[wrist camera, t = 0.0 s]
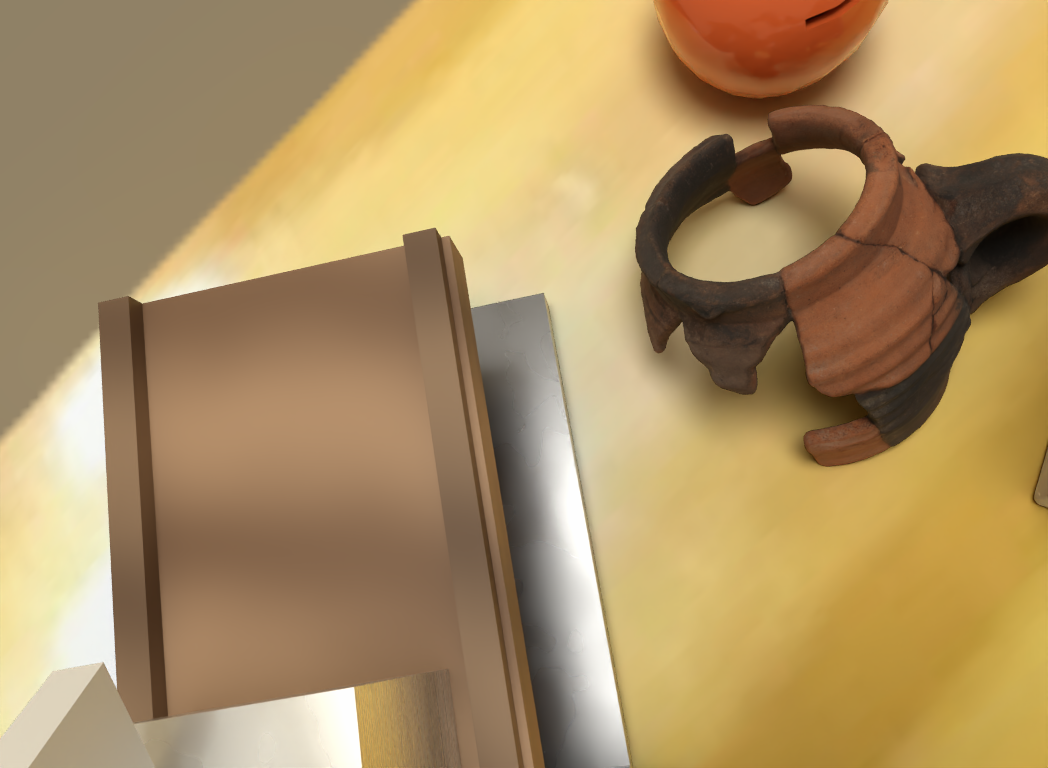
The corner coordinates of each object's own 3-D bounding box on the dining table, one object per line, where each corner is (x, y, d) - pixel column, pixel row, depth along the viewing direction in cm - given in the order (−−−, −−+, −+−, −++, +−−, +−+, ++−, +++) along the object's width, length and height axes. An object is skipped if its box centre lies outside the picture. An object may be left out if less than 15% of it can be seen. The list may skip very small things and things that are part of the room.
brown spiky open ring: (743, 529, 28) (640, 386, 22) (677, 322, 34) (584, 170, 28) (1158, 378, 24) (1161, 161, 18) (998, 178, 30) (964, -30, 25)
